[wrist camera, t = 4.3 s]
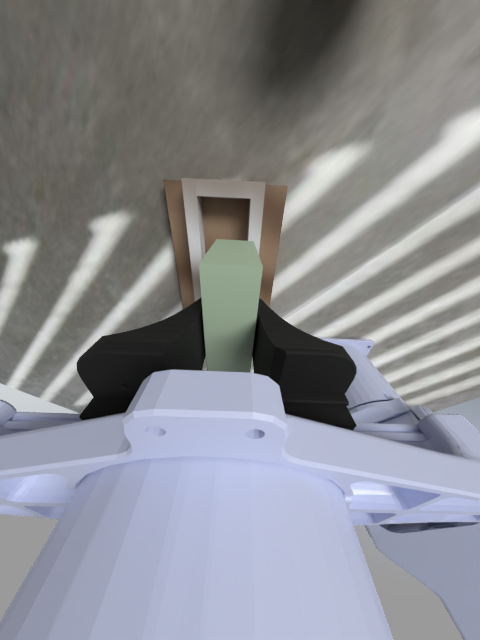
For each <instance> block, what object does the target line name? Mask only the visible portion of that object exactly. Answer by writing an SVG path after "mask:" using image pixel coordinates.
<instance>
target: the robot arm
mask: <svg viewBox="0 0 480 640" xmlns="http://www.w3.org/2000/svg"><path fill="white" fill-rule="evenodd" d="M373 345H374V342H373V341H372V340H360V339H333V338H317V337H314V336H312V335H310V334H307V333H305V332H303V331H301V330H299V329H297V328H296V327H294V326H292V325H291V324H289V323H288V322H286V321H285V320H283V319H282V318H281V317H279V316H278V315H277V314H276V313H275V312H274V311H273V310H271V309H270V308H269V307H268V306H267V305H266V303H265V302H264V301H263V300H262V299H261V298H259V303H258V311H257V319H256V328H255V336H254V344H253V352H252V358H253V365H254V373H251V372H229V371H203V370H202V367H203V363H204V359H205V356H206V351H205V338H204V325H203V312H202V299H201V298H199V299H198V300H197V301H195V302H194V303H192V304H191V305H190V306H188V307H187V308H185V309H183V310H182V311H180V312H178V313H177V314H175V315H173V316H171V317H169V318H167V319H164V320H162V321H159V322H157V323H154V324H151V325H149V326H145V327H142V328H139V329H135V330H131V331H127V332H122V333H117V334H112V335H107V336H102V337H101V338H100V339H99V340H98V341H97V342H96V343H95V344H94V345H93V346H92V347H91V348H89V349H88V350H87V351H86V352H85V353H84V354H83V355H82V356H81V357H80V358H79V360H78V362H77V371H78V373H79V375H80V377H81V379H82V380H83V382H84V383H85V385H86V386H87V388H88V389H89V391H90V392H91V394H92V395H93V397H94V398H93V399H92V400H91V402H90V403H89V404H88V406H87V407H86V408H85V409H84V411H83V412H82V413H81V414H67V413H36V412H17V411H16V409H15V408H14V407H13V406H12V405H11V404H9V403H7V402H6V401H3V400H0V515H12V516H24V517H37V518H49V519H59V521H58V523H57V524H56V526H55V528H54V529H53V531H52V533H51V535H50V536H49V538H48V540H47V542H46V543H45V545H44V547H43V548H42V550H41V552H40V554H39V556H38V557H37V559H36V561H35V562H34V564H33V566H32V567H31V569H30V571H29V573H28V574H27V576H26V578H25V580H24V581H23V583H22V585H21V586H20V588H19V590H18V592H17V593H16V595H15V597H14V599H13V600H12V602H11V604H10V606H9V607H8V609H7V611H6V612H5V614H4V616H3V617H2V619H1V621H0V640H393V637H392V634H391V632H390V629H389V626H388V623H387V620H386V617H385V615H384V611H383V609H382V606H381V603H380V600H379V597H378V594H377V591H376V589H375V586H374V583H373V580H372V577H371V575H370V571H369V569H368V566H367V563H366V560H365V557H364V554H363V551H362V549H361V546H360V543H359V540H358V537H357V534H356V532H355V529H354V526H359V525H364V526H365V528H366V530H367V531H368V534H369V535H370V537H371V538H372V539H373V542H374V544H375V546H376V548H377V549H378V550H379V551H380V552H381V553H383V554H384V555H385V556H386V557H388V558H389V559H390V560H392V561H393V562H394V563H396V564H397V565H398V566H400V567H401V568H402V569H404V570H405V571H406V572H408V573H409V574H410V575H412V576H413V577H415V578H416V579H417V580H419V581H420V582H421V583H423V584H424V585H425V586H427V587H428V588H429V589H430V590H432V591H433V592H434V593H435V594H436V595H437V596H439V598H440V599H441V601H442V602H443V604H444V606H445V608H446V609H447V611H448V613H449V615H450V617H451V618H452V620H453V622H454V624H455V625H456V627H457V629H458V631H459V632H460V634H461V636H462V638H463V639H464V640H480V432H479V431H478V430H477V429H476V428H475V427H474V426H473V425H471V424H470V422H468V421H467V420H466V419H465V418H464V417H463V416H462V415H458V414H434V413H433V412H432V411H431V410H430V409H428V408H425V407H420V406H419V405H414V406H412V407H411V408H412V409H413V410H412V409H411V408H410V407H409V406H408V405H407V404H406V403H405V402H404V401H403V400H402V399H401V398H400V396H399V395H398V394H397V393H396V392H395V390H394V389H393V388H392V387H391V386H390V384H389V383H388V382H387V381H386V379H385V378H384V377H383V376H382V375H381V373H380V372H379V371H378V370H377V369H376V367H375V366H374V365H373V364H372V363H371V361H370V360H369V359H368V358H367V357H366V356H367V355H368V353H369V351H370V350H371V348H372V346H373Z"/></svg>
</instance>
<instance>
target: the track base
mask: <svg viewBox="0 0 480 640" xmlns="http://www.w3.org/2000/svg"><path fill="white" fill-rule="evenodd" d="M181 180H182V181H173V180H163V181H164V187H165V194H166V200H167V207H168V213H169V220H170V226H171V232H172V239H173V245H174V252H175V258H176V265H177V271H178V277H179V284H180V290H181V297H182V303H183V309H185V308H187V307H188V306H190V305H191V304H192V303H194V302H195V301H197V300H198V299H199V298H201V285H200V272H199V263H200V261H201V260H202V259H203V257H204V256H205V254H206V253H207V252H208V250H209V249H210V248H211V246H212V245H213V243H214V242H215V241H216V239H226V240H243V241H254V244H255V246H256V249H257V252H258V255H259V258H260V260H261V263H262V266H263V270H262V279H261V287H260V295H259V298H261V299H262V300H263V301H264V302H265V303H266V305H267V306H268V307H269V306H270V300H271V293H272V286H273V280H274V273H275V266H276V260H277V253H278V246H279V240H280V233H281V226H282V220H283V213H284V206H285V200H286V193H287V186H273V185H266V182H252V181H232V180H212V179H192V178H181Z"/></svg>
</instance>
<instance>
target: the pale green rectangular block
mask: <svg viewBox="0 0 480 640" xmlns="http://www.w3.org/2000/svg"><path fill="white" fill-rule="evenodd" d="M262 270H263V266H262V263H261V260H260V258H259V255H258V252H257V249H256V246H255V244H254V241H243V240H226V239H216V241H215V242H214V243H213V245H212V246H211V248H210V249H209V250H208V252H207V253H206V254H205V256H204V257H203V259H202V260H201V261H200V263H199V272H200V285H201V299H202V312H203V325H204V338H205V351H206V365H207V371H229V372H250V368H251V360H252V352H253V344H254V336H255V328H256V319H257V311H258V303H259V295H260V287H261V279H262Z"/></svg>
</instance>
